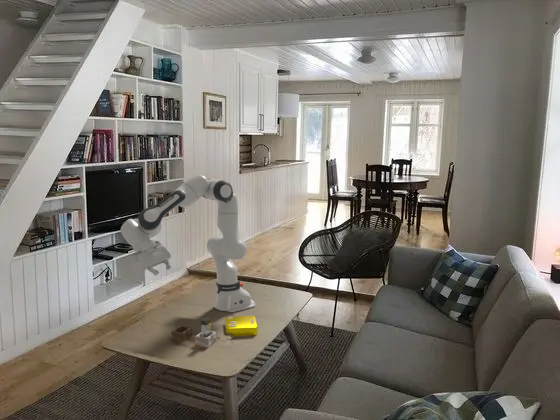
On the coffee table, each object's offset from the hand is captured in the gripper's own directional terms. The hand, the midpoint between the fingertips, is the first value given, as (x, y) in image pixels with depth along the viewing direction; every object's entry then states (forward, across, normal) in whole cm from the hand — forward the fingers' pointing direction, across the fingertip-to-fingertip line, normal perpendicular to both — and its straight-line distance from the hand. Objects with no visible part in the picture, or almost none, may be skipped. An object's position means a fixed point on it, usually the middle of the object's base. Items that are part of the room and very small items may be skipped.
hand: (163, 271), depth 218 cm
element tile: (+44, +20, +1) cm, 48 cm away
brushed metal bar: (+38, -2, +4) cm, 38 cm away
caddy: (+34, -2, +10) cm, 36 cm away
